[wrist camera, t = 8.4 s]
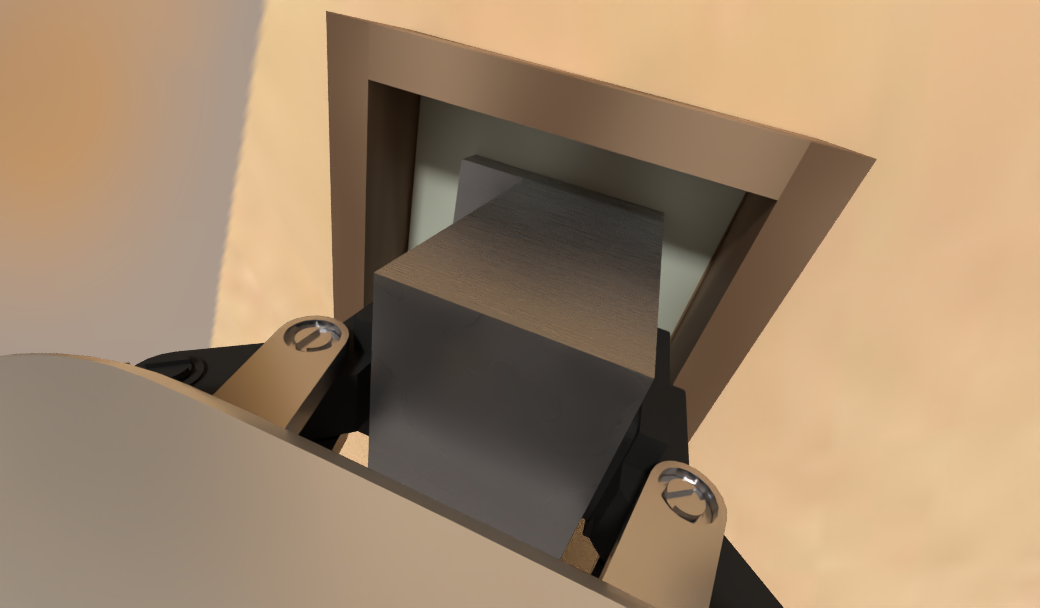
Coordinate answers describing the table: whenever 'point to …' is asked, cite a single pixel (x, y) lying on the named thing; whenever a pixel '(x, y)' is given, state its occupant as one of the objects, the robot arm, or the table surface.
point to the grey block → (515, 350)
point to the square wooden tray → (577, 179)
